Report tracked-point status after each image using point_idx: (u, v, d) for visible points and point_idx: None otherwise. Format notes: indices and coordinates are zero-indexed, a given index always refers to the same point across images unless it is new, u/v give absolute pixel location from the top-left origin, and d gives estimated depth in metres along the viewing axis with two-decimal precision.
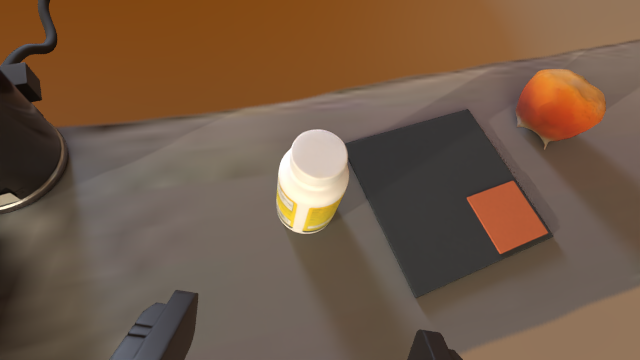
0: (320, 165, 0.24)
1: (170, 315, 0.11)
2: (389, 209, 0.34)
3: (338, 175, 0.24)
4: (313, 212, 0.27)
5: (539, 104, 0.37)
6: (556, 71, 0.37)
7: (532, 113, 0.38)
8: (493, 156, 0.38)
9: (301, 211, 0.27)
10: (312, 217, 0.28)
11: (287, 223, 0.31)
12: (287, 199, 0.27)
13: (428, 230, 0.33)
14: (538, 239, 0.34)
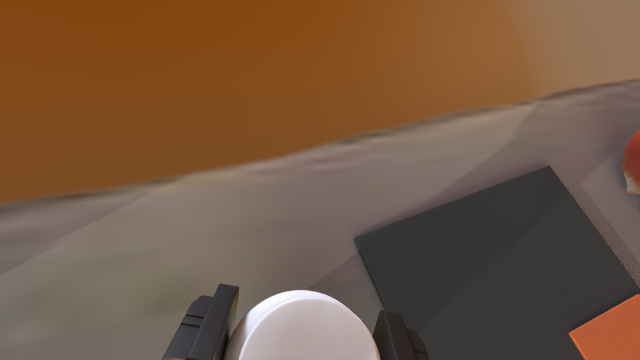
0: None
1: (218, 306, 0.11)
2: None
3: None
4: None
5: None
6: None
7: None
8: (600, 248, 0.23)
9: None
10: None
11: None
12: None
13: None
14: None
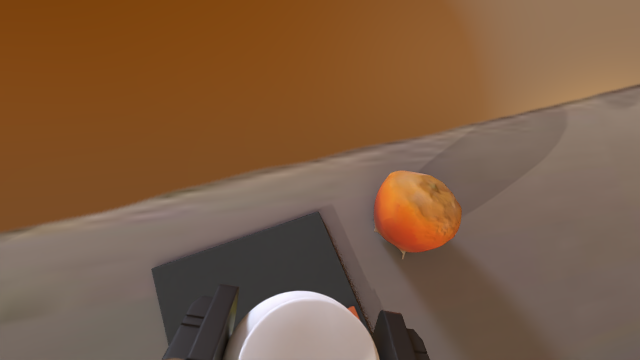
0: None
1: (218, 306, 0.11)
2: None
3: None
4: None
5: (383, 217, 0.32)
6: (404, 178, 0.32)
7: (380, 224, 0.33)
8: (336, 273, 0.33)
9: None
10: None
11: None
12: None
13: None
14: None
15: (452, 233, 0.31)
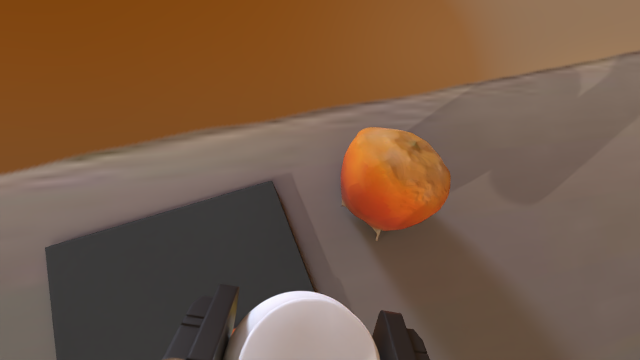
0: None
1: (218, 306, 0.11)
2: None
3: None
4: None
5: (348, 184, 0.25)
6: (376, 134, 0.25)
7: (345, 194, 0.26)
8: (290, 257, 0.26)
9: None
10: None
11: None
12: None
13: None
14: None
15: (437, 204, 0.24)
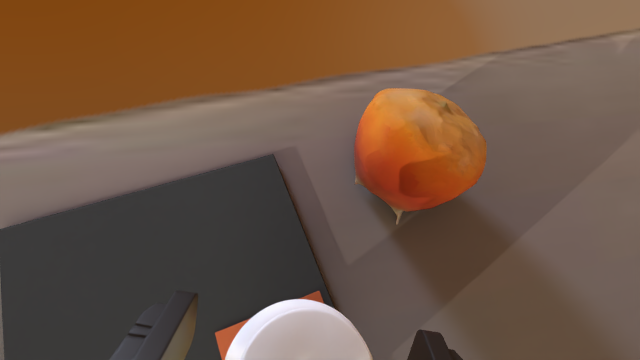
0: None
1: (170, 315, 0.11)
2: None
3: None
4: None
5: (365, 153, 0.20)
6: (398, 93, 0.21)
7: (361, 167, 0.21)
8: (295, 242, 0.22)
9: None
10: None
11: None
12: None
13: None
14: None
15: (474, 175, 0.20)
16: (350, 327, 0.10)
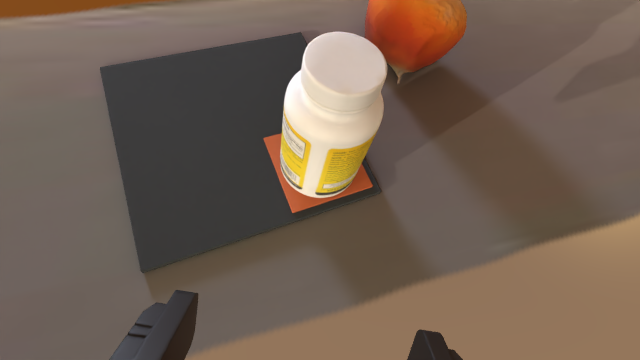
0: (347, 77, 0.16)
1: (170, 315, 0.11)
2: (139, 151, 0.24)
3: (374, 93, 0.16)
4: (333, 158, 0.19)
5: (374, 15, 0.27)
6: None
7: (371, 30, 0.28)
8: None
9: (316, 157, 0.19)
10: (331, 168, 0.20)
11: (295, 182, 0.23)
12: (296, 140, 0.19)
13: (191, 179, 0.23)
14: (357, 194, 0.25)
15: (456, 28, 0.26)
16: (370, 42, 0.17)
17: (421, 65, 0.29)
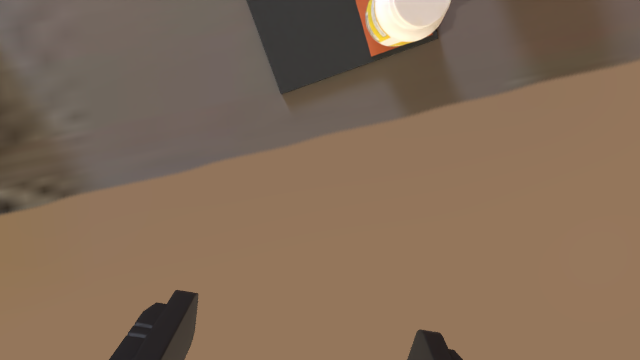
0: (421, 10, 0.24)
1: (170, 315, 0.11)
2: (263, 5, 0.33)
3: (437, 20, 0.24)
4: (404, 42, 0.28)
5: None
6: None
7: None
8: None
9: (393, 40, 0.29)
10: (402, 43, 0.29)
11: (375, 38, 0.32)
12: (381, 30, 0.28)
13: (302, 29, 0.33)
14: (419, 41, 0.34)
15: None
16: None
17: None
